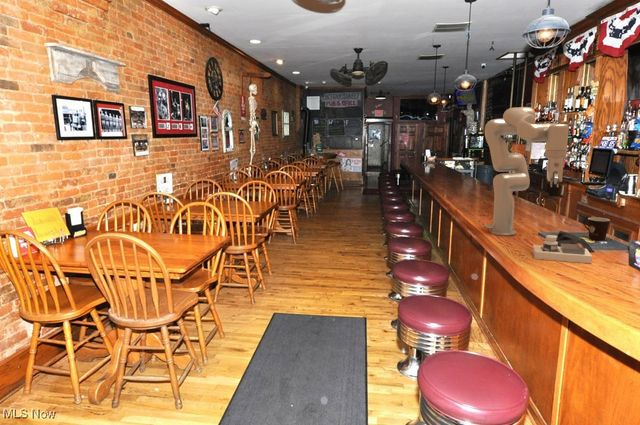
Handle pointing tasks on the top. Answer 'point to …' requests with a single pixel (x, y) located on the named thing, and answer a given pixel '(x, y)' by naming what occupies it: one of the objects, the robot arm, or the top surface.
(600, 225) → the coffee mug
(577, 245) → the grey slab
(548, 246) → the pill bottle
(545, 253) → the socket block
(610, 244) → the top surface
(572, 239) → the black slab with knob
